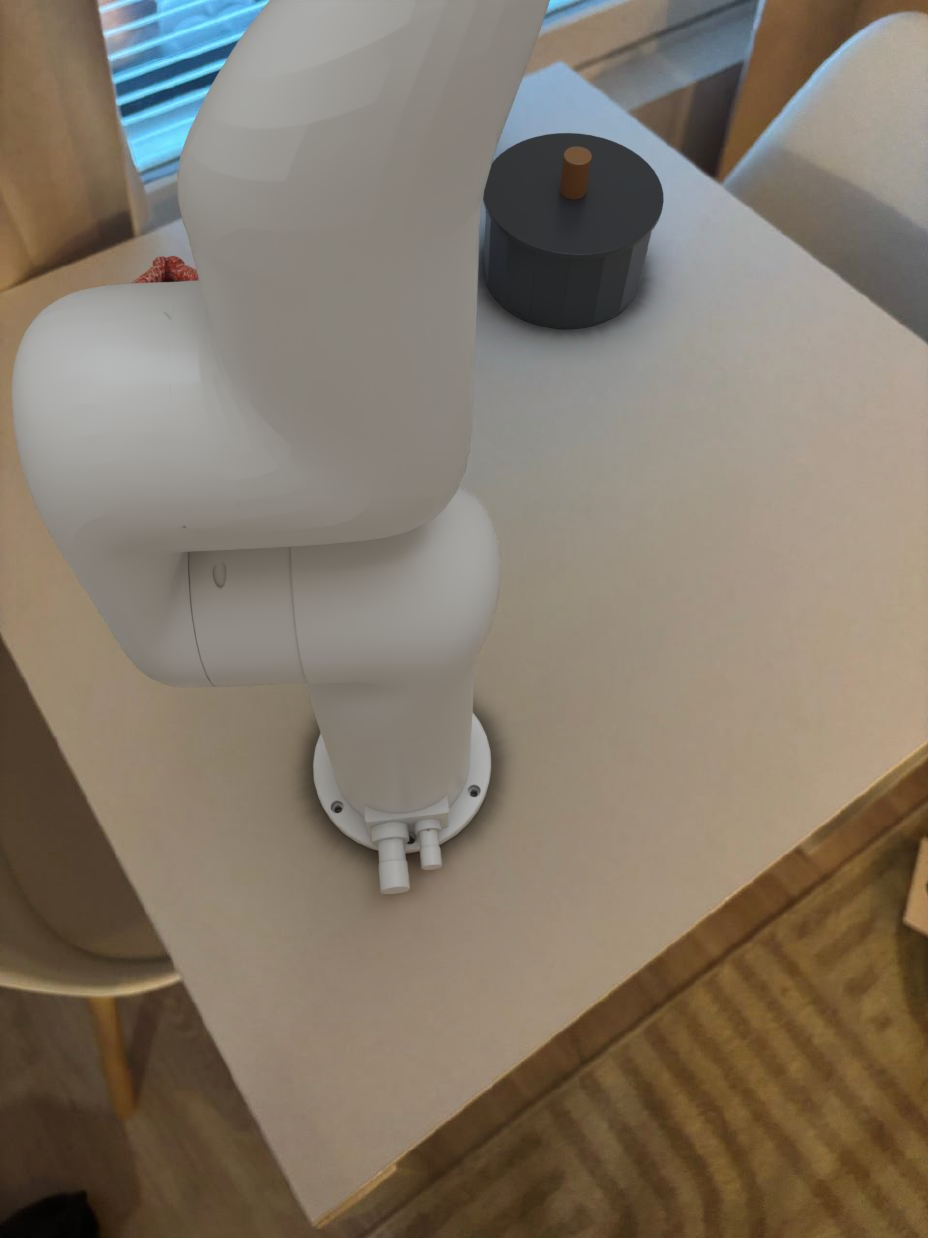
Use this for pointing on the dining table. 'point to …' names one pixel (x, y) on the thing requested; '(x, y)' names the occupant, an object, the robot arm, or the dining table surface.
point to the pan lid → (573, 196)
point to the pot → (560, 282)
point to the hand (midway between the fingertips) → (373, 98)
